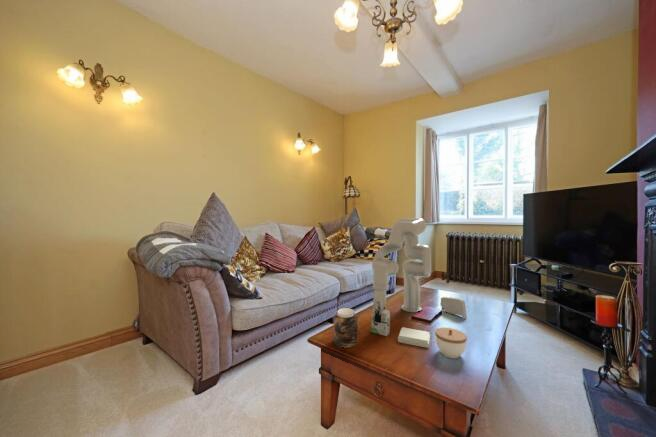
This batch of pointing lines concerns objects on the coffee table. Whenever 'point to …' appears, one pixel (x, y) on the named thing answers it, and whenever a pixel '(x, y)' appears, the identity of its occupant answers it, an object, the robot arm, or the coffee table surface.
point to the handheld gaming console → (453, 306)
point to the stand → (414, 337)
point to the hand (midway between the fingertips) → (380, 318)
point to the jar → (345, 328)
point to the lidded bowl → (450, 342)
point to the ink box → (382, 327)
